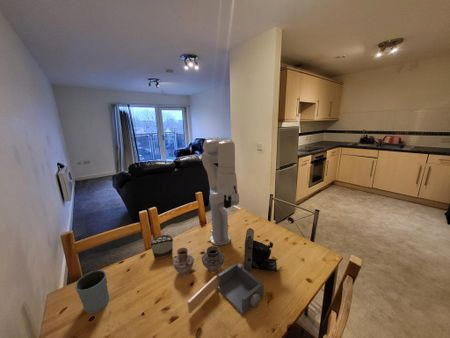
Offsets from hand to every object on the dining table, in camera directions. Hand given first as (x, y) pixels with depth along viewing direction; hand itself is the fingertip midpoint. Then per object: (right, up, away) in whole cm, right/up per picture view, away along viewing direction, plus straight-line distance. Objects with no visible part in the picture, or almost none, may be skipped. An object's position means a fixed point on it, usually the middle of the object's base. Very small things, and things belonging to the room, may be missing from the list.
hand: (227, 207), depth 89 cm
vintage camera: (+16, -32, +5) cm, 36 cm away
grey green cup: (-54, -37, -11) cm, 67 cm away
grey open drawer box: (+6, -35, -8) cm, 37 cm away
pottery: (-14, -32, +5) cm, 36 cm away
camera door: (-10, -35, -11) cm, 38 cm away
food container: (-36, -30, +18) cm, 50 cm away
